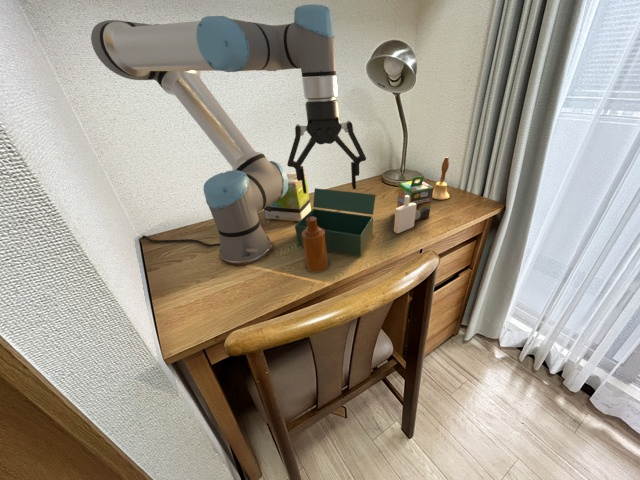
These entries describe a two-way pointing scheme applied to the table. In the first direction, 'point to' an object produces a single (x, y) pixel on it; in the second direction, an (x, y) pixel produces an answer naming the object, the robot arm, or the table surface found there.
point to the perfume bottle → (405, 216)
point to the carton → (340, 230)
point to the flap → (344, 201)
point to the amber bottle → (314, 246)
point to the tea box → (291, 202)
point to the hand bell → (442, 183)
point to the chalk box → (416, 196)
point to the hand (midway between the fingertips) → (329, 189)
